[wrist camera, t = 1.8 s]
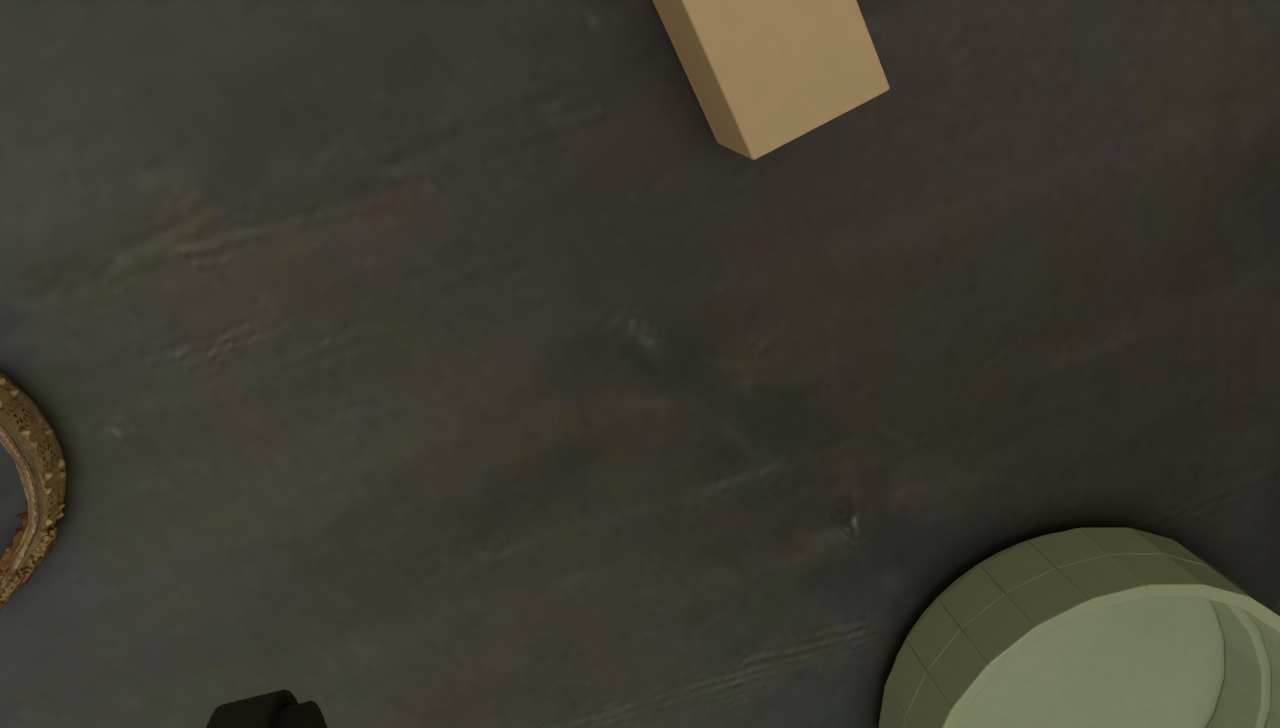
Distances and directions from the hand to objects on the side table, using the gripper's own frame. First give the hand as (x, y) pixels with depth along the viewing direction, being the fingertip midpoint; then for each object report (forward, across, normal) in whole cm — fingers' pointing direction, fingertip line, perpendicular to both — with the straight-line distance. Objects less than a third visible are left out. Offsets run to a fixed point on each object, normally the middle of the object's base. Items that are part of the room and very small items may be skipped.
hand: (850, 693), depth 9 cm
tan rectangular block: (+19, -4, -6) cm, 20 cm away
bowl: (+19, -12, +18) cm, 28 cm away
